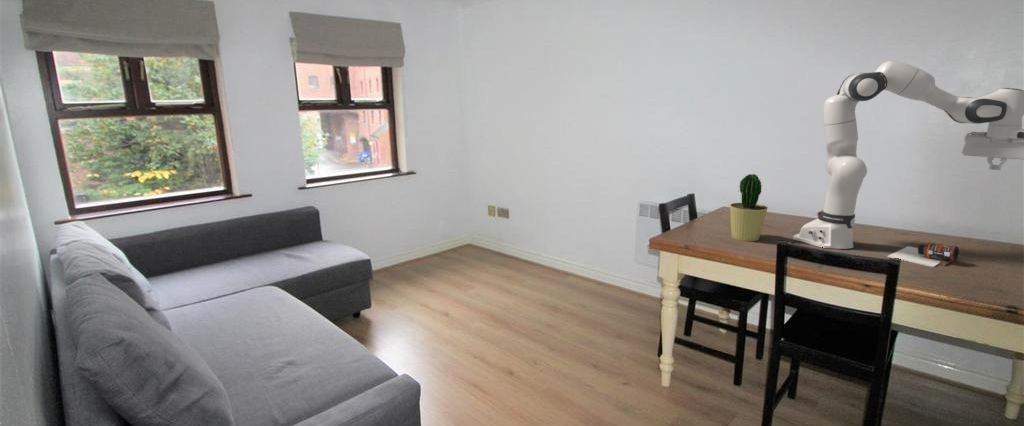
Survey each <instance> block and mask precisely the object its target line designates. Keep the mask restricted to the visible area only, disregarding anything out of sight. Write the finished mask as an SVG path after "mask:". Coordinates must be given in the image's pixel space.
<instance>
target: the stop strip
mask: <svg viewBox="0 0 1024 426" xmlns="http://www.w3.org/2000/svg"><path fill="white" fill-rule="evenodd" d="M952 262H953V261H950V260H943V261H941V262H940V263H939V264H938V265H939V266H942V267H945V266H947V265H949V264H950V263H952Z"/></svg>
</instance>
